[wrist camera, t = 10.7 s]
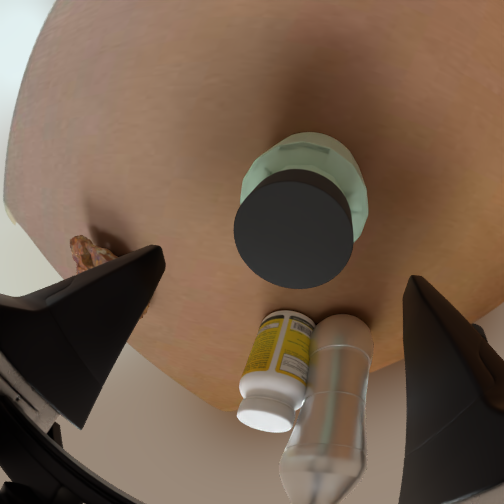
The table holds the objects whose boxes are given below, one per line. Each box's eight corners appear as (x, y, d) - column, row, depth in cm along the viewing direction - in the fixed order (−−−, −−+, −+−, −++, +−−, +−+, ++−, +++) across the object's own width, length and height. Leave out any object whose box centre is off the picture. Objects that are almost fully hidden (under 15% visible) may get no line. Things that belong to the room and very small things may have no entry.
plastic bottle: (311, 348, 28) (265, 525, 12) (309, 303, 25) (248, 524, 9) (368, 349, 26) (347, 532, 10) (376, 304, 23) (362, 535, 7)
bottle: (376, 199, 18) (393, 250, 12) (297, 238, 22) (277, 298, 16) (326, 113, 16) (321, 119, 10) (245, 164, 20) (202, 197, 14)
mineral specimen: (78, 274, 32) (49, 282, 26) (99, 227, 32) (69, 227, 25) (142, 325, 33) (120, 344, 26) (168, 278, 32) (148, 290, 26)
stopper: (364, 217, 15) (373, 264, 11) (292, 251, 17) (275, 302, 13) (319, 139, 13) (311, 156, 9) (245, 184, 16) (210, 218, 12)
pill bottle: (264, 344, 30) (233, 427, 21) (259, 305, 27) (219, 398, 18) (317, 350, 28) (299, 439, 19) (320, 310, 25) (302, 413, 16)
